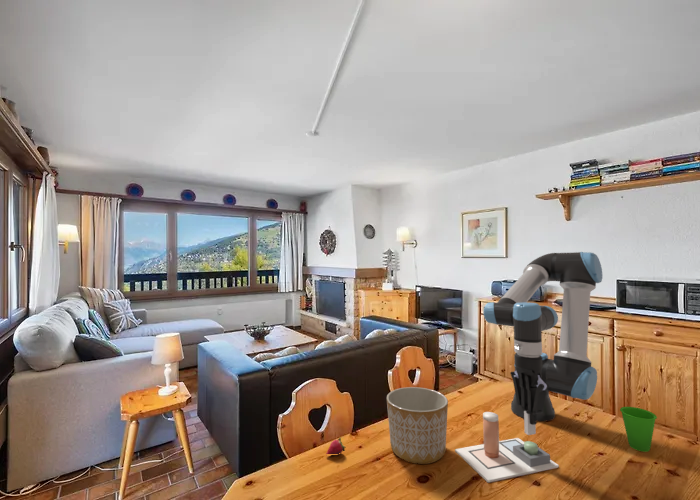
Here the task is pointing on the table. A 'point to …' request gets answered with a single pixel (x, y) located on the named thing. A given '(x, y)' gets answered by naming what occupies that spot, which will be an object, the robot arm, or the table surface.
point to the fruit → (336, 447)
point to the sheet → (500, 461)
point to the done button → (530, 448)
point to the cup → (638, 427)
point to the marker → (491, 434)
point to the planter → (417, 424)
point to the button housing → (531, 460)
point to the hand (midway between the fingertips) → (530, 433)
